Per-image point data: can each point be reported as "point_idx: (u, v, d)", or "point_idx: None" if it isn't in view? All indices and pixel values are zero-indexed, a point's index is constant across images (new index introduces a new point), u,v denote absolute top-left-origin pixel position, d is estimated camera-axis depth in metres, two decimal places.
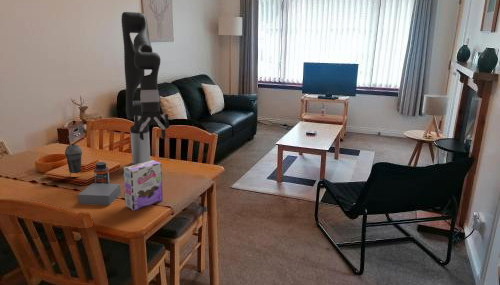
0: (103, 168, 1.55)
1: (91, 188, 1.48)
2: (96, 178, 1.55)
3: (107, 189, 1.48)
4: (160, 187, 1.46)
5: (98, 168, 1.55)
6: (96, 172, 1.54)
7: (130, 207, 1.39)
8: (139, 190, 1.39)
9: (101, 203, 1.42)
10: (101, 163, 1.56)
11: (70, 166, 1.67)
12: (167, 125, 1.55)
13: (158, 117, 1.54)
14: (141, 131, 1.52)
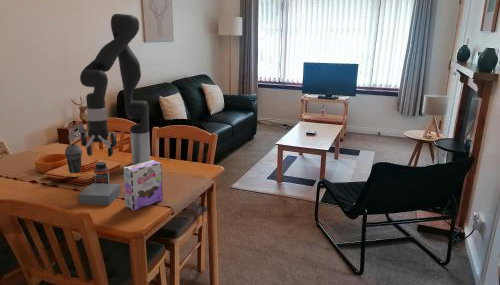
0: (103, 168, 1.55)
1: (91, 188, 1.48)
2: (96, 178, 1.55)
3: (107, 189, 1.48)
4: (160, 187, 1.46)
5: (98, 168, 1.55)
6: (96, 172, 1.54)
7: (130, 207, 1.39)
8: (139, 190, 1.39)
9: (101, 203, 1.42)
10: (101, 163, 1.56)
11: (70, 166, 1.67)
12: (112, 144, 1.52)
13: (103, 135, 1.52)
14: (88, 147, 1.54)
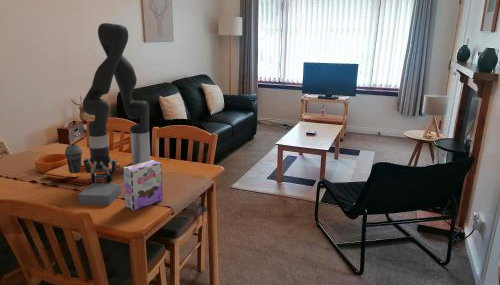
0: None
1: (91, 188, 1.48)
2: (96, 178, 1.55)
3: (107, 189, 1.48)
4: (160, 187, 1.46)
5: (98, 168, 1.55)
6: (96, 172, 1.54)
7: (130, 207, 1.39)
8: (139, 190, 1.39)
9: (101, 203, 1.42)
10: None
11: (70, 166, 1.67)
12: (112, 171, 1.56)
13: (105, 162, 1.55)
14: (93, 174, 1.57)
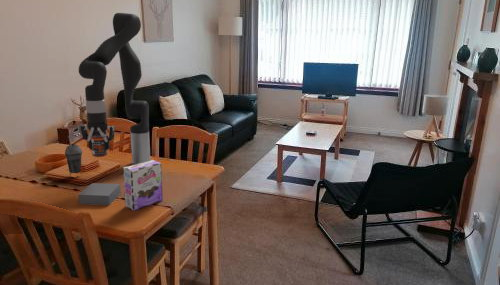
0: (100, 134, 1.51)
1: (91, 188, 1.48)
2: (93, 145, 1.51)
3: (107, 189, 1.48)
4: (160, 187, 1.46)
5: (95, 134, 1.51)
6: (93, 138, 1.51)
7: (130, 207, 1.39)
8: (139, 190, 1.39)
9: (101, 203, 1.42)
10: None
11: (70, 166, 1.67)
12: (109, 138, 1.52)
13: (103, 128, 1.51)
14: (90, 141, 1.53)
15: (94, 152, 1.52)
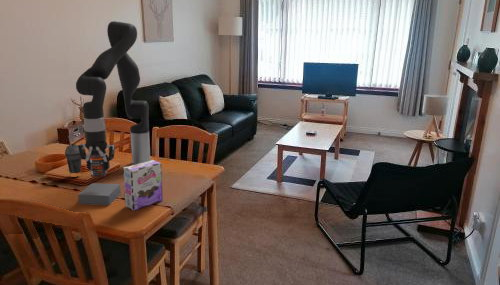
0: (99, 154, 1.42)
1: (91, 188, 1.48)
2: (92, 165, 1.42)
3: (107, 189, 1.48)
4: (160, 187, 1.46)
5: (94, 154, 1.41)
6: (92, 158, 1.41)
7: (130, 207, 1.39)
8: (139, 190, 1.39)
9: (101, 203, 1.42)
10: None
11: (70, 166, 1.67)
12: (109, 157, 1.42)
13: (102, 148, 1.42)
14: None
15: (93, 173, 1.43)
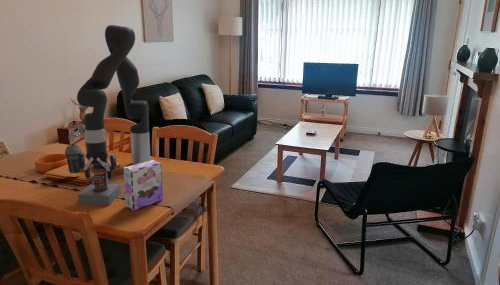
0: (101, 168, 1.44)
1: (91, 188, 1.48)
2: (93, 179, 1.44)
3: (107, 189, 1.48)
4: (160, 187, 1.46)
5: (96, 168, 1.43)
6: (93, 172, 1.43)
7: (130, 207, 1.39)
8: (139, 190, 1.39)
9: (101, 203, 1.42)
10: None
11: (70, 166, 1.67)
12: (112, 167, 1.43)
13: (103, 158, 1.43)
14: None
15: (95, 186, 1.44)
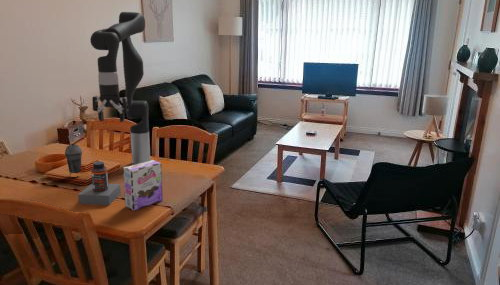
0: (101, 168, 1.44)
1: (91, 188, 1.48)
2: (93, 179, 1.44)
3: (107, 189, 1.48)
4: (160, 187, 1.46)
5: (96, 168, 1.43)
6: (93, 172, 1.43)
7: (130, 207, 1.39)
8: (139, 190, 1.39)
9: (101, 203, 1.42)
10: (99, 162, 1.45)
11: (70, 166, 1.67)
12: (124, 109, 1.50)
13: (115, 100, 1.49)
14: (99, 112, 1.52)
15: (95, 186, 1.44)
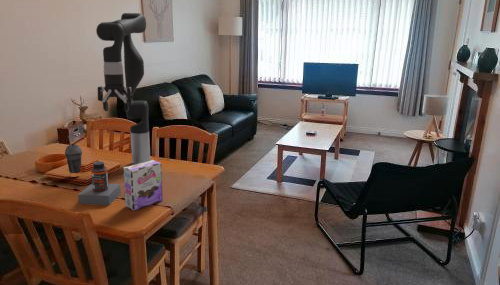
0: (101, 168, 1.44)
1: (91, 188, 1.48)
2: (93, 179, 1.44)
3: (107, 189, 1.48)
4: (160, 187, 1.46)
5: (96, 168, 1.43)
6: (93, 172, 1.43)
7: (130, 207, 1.39)
8: (139, 190, 1.39)
9: (101, 203, 1.42)
10: (99, 162, 1.45)
11: (70, 166, 1.67)
12: (129, 99, 1.53)
13: (120, 90, 1.52)
14: (104, 102, 1.54)
15: (95, 186, 1.44)
